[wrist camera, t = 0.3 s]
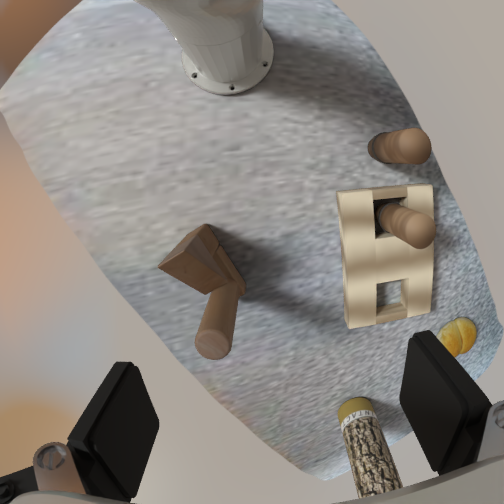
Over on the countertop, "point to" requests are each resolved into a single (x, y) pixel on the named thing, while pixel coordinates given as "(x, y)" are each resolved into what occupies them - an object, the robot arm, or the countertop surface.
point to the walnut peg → (401, 147)
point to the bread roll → (458, 335)
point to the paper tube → (367, 449)
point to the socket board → (382, 256)
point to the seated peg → (406, 224)
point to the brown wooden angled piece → (209, 287)
